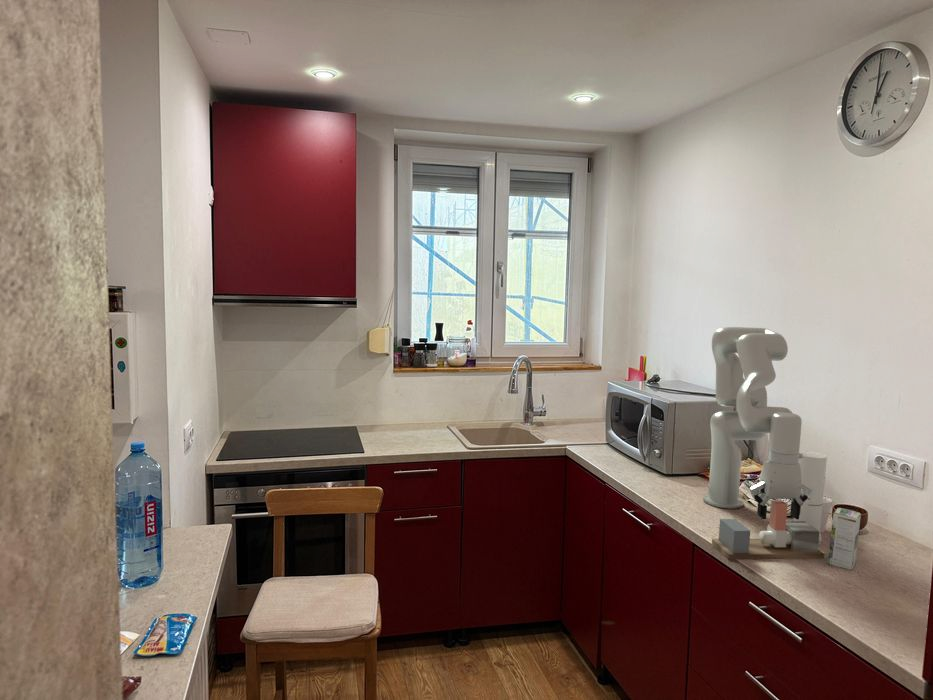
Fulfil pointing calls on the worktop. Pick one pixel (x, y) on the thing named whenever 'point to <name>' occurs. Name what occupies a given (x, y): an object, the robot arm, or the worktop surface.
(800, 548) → the roller board
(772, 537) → the slide bolt
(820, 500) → the cylindrical container
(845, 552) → the syrup box
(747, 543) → the socket
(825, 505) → the smoothie
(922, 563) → the worktop surface
